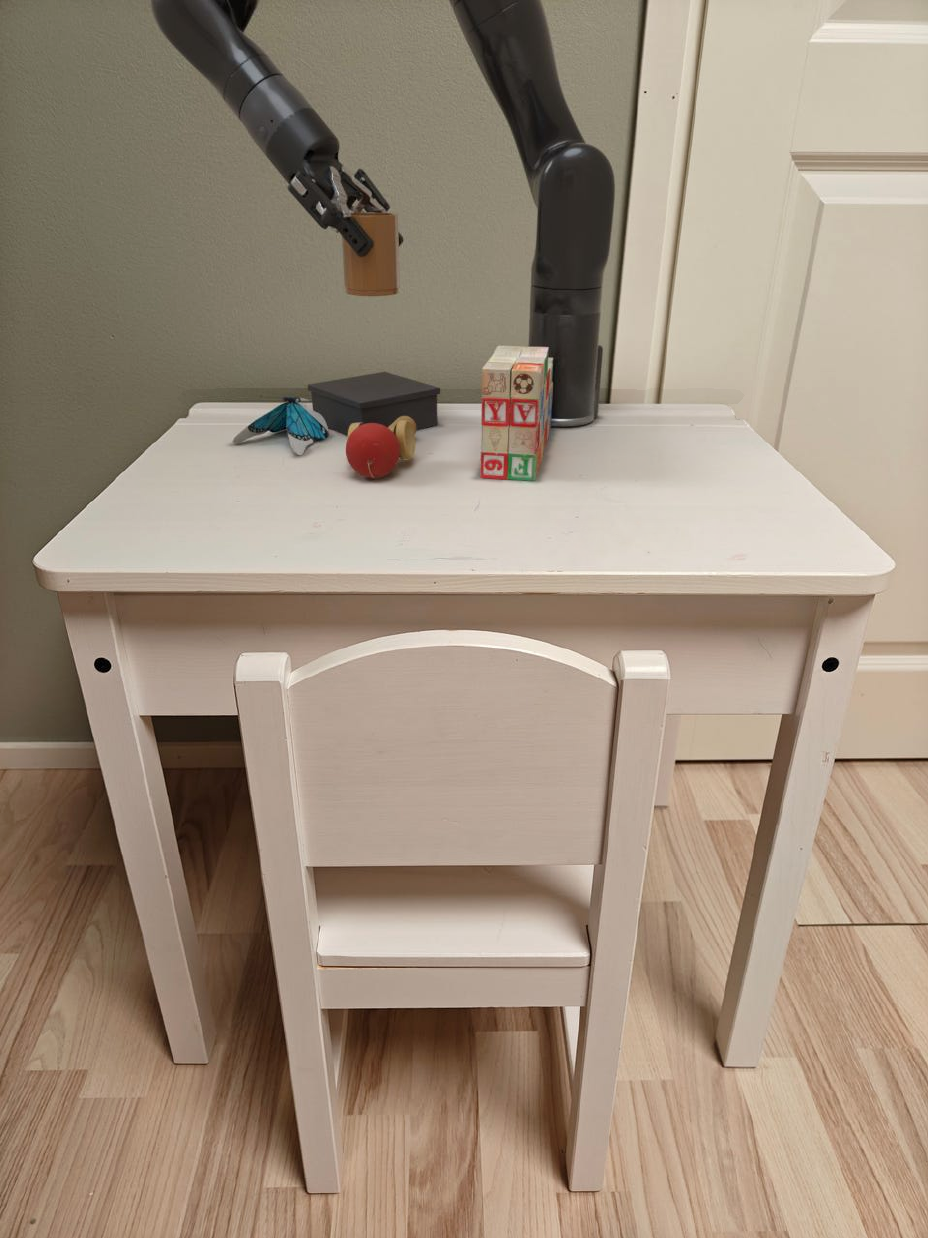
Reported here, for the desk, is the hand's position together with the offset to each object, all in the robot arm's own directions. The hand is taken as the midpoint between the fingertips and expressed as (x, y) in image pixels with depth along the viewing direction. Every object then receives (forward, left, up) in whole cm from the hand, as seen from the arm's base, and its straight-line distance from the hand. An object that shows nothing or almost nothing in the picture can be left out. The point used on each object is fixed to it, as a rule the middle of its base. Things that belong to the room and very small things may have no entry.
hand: (383, 248), depth 100 cm
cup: (+1, -1, -5) cm, 5 cm away
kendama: (+6, +8, -23) cm, 24 cm away
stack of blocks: (-9, +15, -23) cm, 28 cm away
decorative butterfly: (+11, -7, -23) cm, 26 cm away
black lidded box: (-2, -6, -22) cm, 23 cm away
